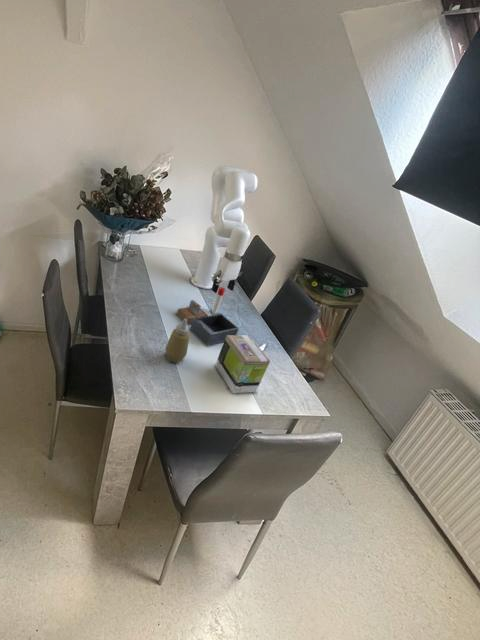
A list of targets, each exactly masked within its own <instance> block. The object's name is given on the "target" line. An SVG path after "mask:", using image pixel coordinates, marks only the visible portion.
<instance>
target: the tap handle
mask: <svg viewBox="0 0 480 640" xmlns="http://www.w3.org/2000/svg"><path fill="white" fill-rule="evenodd" d="M188 307H189V308H188V309H189V310H190V311H191V312H193V313H194V314H195V315H198V314H199V311H200V308H202V306H201V304H199V303H197V301H195V300H194V299H190V301H189V305H188Z"/></svg>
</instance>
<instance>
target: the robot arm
mask: <svg viewBox="0 0 480 640" xmlns="http://www.w3.org/2000/svg"><path fill="white" fill-rule="evenodd" d="M257 188H258V177H257V175H256V174H255V173H254V172H252V171H251V170H248V169H243V168H237V167H233V166H226V165H225V166H221V165H220V166H217V167H216V168H214V170H213V171H212V176H211V189H212V202H211V203H212V204H211V211H210V222H212V223H213V224H214V225H212V226H209V227H208V228H207V229H206V230H205V236H204V242H203V243H204V244H203V248H202V251H201V254H200V255H201V256H200V258H199V262H198V266H197V268H196V272H195V275H194V276H192V277H191V279H190V282H191V283H192V285H194V286H195V287H197V288H200V289H204V290H211V291H212V292H213V293H215V294H218V291H219V288H220V284H221V283H222V282H226V281H227V282H228V283H227V289H228V290H229V291H231V292H232V291H234V289H235V286H236V284H237V283H238V280H240V278H241V276H243V272H242V271H241V269H242V268H241V267H242V261H243V258H244V255H245V252H246V250H247V249H246V248H247V246H248V242H249V241H250V238H251V230H249V229H250V228H249V226H248V224H247V223H245V222H244V220H245V213H244V210H243V209H242V208H241V207H243V206H244V204H245V201H246V200H245V199H246V198H245V197H246V195H245V193H249V194H252V193H254V192H256V189H257ZM219 248H226V249H225V251H224V255H223V256H222V253H221V251H220V249H219ZM221 257H222V258H221Z"/></svg>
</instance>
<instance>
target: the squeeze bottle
mask: <svg viewBox="0 0 480 640" xmlns="http://www.w3.org/2000/svg"><path fill="white" fill-rule="evenodd" d="M189 331H190V328H189V326H188V324H187V319H184V320H182V322H181V323H179V324H177V325H176V327H175V328H174V329H173V330H172V332H171V334H170V337H169V338H168V341H167V343H166V346H165V354H166V359H167V360H168V361H169V362H171V363H175V364H179V363H181V362H182V361H183V359H184V358H185V357H186V356H187V353H188V348H189V342H190V337H191V334H190V333H189Z"/></svg>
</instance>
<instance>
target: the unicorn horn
mask: <svg viewBox="0 0 480 640" xmlns="http://www.w3.org/2000/svg"><path fill="white" fill-rule="evenodd" d="M266 345H267V343H263V344H262V345H260V346H258V347H259V348H260V349H261V350H262V352H263V353H264V350H265V348H266Z"/></svg>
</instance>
